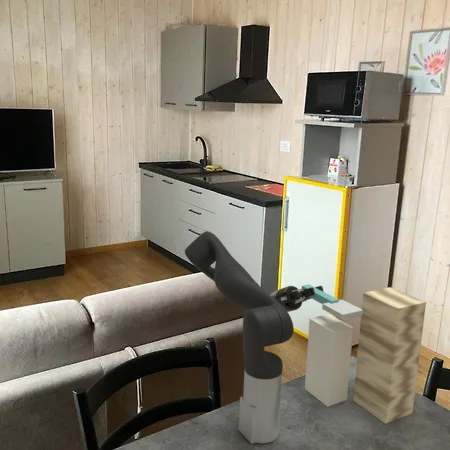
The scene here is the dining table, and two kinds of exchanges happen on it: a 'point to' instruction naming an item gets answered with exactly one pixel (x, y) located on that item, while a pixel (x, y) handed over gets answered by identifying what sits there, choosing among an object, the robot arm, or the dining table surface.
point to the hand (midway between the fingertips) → (317, 290)
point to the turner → (335, 305)
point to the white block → (328, 359)
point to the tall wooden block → (388, 353)
